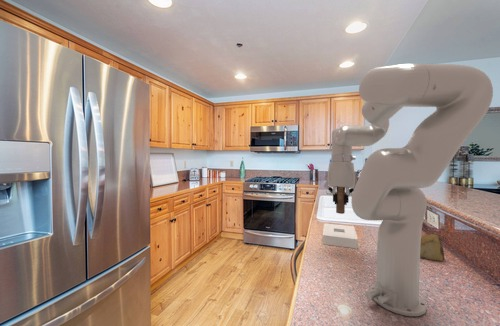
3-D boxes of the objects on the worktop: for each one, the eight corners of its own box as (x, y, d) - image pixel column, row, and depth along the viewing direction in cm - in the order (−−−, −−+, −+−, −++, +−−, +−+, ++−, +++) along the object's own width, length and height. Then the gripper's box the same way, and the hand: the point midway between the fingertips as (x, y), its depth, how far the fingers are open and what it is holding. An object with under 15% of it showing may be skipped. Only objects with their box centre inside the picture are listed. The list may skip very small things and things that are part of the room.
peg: (340, 214, 87) (340, 186, 87) (334, 212, 90) (334, 185, 90) (346, 213, 89) (346, 186, 88) (340, 211, 92) (340, 185, 91)
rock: (404, 251, 84) (438, 257, 76) (406, 230, 88) (438, 233, 80) (414, 261, 89) (446, 268, 81) (415, 241, 92) (446, 245, 85)
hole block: (357, 248, 91) (357, 239, 91) (322, 244, 96) (322, 235, 96) (353, 234, 108) (353, 226, 108) (324, 230, 113) (324, 223, 113)
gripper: (362, 159, 89) (361, 203, 90) (320, 158, 95) (319, 200, 96) (365, 159, 82) (364, 207, 83) (319, 159, 88) (319, 204, 89)
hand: (340, 203), depth 89 cm, fingers closed on peg, 3 cm apart
